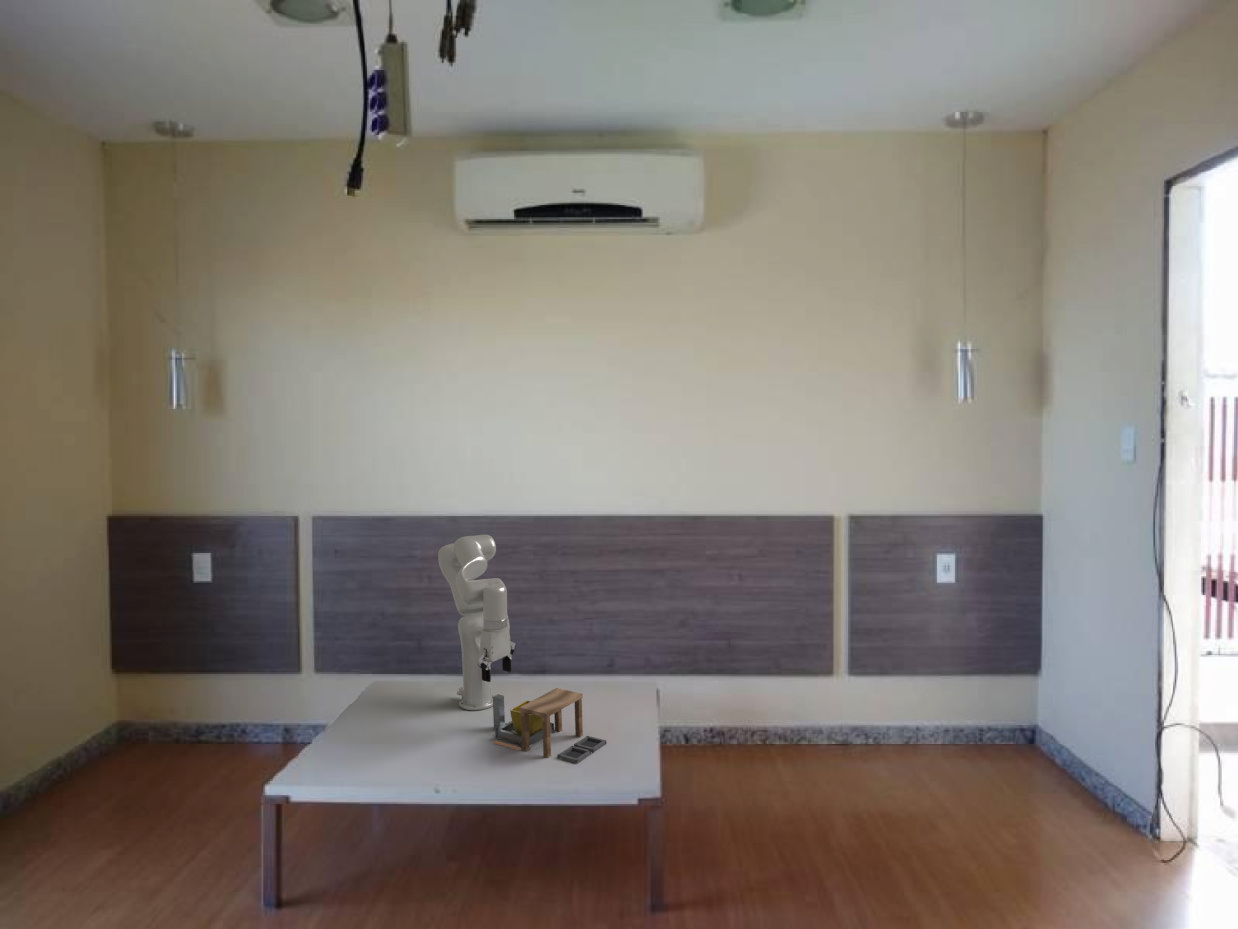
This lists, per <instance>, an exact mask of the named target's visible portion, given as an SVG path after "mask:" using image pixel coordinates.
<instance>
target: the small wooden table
mask: <svg viewBox="0 0 1238 929" xmlns="http://www.w3.org/2000/svg"><path fill="white" fill-rule="evenodd" d="M582 698H583V693H580V692H577V691H571V690H568V689H562V688H559V687H556V688H554V689H552V690H550V691H548V692H546V693H544V694H543V695H541V696H539V697H537V698H535V699H533V700H530V701H531V702H529V703H527V704H525V705H523V706H521V707H520V711H521V732H522V745H521V751H523V752H526V753H527V752H528V751H530V750H531V748H530V747H531V745H530V742H529V714H533V715H537V716H541V717H542V730H543V738H542V748H543V749H542V754H543V755H542V756H543V758H550V757H551V756H552V744H551V742H552V740H551V733H550V722H551V716H552V715H554V716H553V717H554V727H555V729H554V732H557V733H558V732H559V733H560V732H562V731H563V717H562V716H563V715H562V712H563V711H562V710H563V709H564V708H567V707H569V706H570V705H572V704H573V703H574V725H575V726H574V728H575V729H574V730H575V737H577V738H581V737H582V736H583V735H584V734H583V732H584V731H583V728H584V727H583V700H582Z"/></svg>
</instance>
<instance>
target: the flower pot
mask: <svg viewBox="0 0 1238 929" xmlns="http://www.w3.org/2000/svg"><path fill="white" fill-rule="evenodd" d="M531 701H532V700H525V701H523V702H521V703H519V705H516V706H515V707H513V708H511V709H510V710H509V711H510V718H511V721H512V723H513V726H514V729H515V732H516V734H520V735H522V732H521V711H520V707H521V706H523V705H525V704H527V703H529V702H531ZM540 728H542V717H541V716H537V715H533V714H529V735H530V734H532V733H534V732H535V731H537V730H539V729H540Z"/></svg>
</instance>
